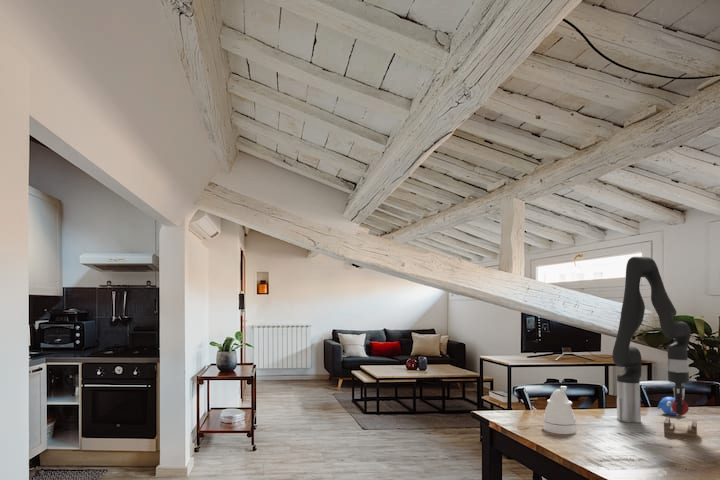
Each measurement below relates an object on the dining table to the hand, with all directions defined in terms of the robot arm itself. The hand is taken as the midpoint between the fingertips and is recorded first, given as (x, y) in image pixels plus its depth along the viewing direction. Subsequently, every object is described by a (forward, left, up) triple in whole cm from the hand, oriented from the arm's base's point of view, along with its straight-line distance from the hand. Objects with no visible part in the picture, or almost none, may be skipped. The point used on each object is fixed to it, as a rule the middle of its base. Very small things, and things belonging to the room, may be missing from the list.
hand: (680, 412), depth 217 cm
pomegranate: (0, 0, -2) cm, 2 cm away
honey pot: (-47, -8, -10) cm, 49 cm away
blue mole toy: (+7, +41, -10) cm, 43 cm away
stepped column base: (0, 0, -9) cm, 9 cm away
